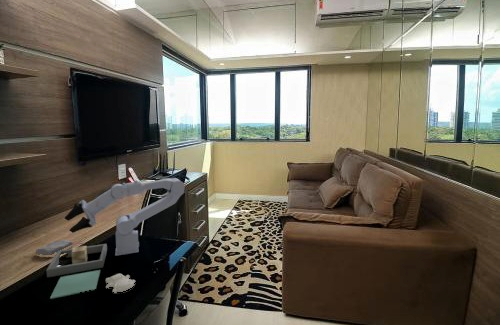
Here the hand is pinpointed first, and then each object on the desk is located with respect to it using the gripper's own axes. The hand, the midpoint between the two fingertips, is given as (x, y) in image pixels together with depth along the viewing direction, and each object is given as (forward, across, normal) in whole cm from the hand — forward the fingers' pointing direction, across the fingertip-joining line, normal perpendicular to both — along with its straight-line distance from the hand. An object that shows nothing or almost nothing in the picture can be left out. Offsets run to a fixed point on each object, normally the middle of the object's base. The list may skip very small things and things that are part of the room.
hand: (68, 225), depth 106 cm
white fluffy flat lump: (-5, +35, +6) cm, 36 cm away
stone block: (+16, -7, +16) cm, 23 cm away
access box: (+6, +10, +12) cm, 16 cm away
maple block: (+6, +10, +12) cm, 17 cm away
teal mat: (+6, +25, +3) cm, 26 cm away
